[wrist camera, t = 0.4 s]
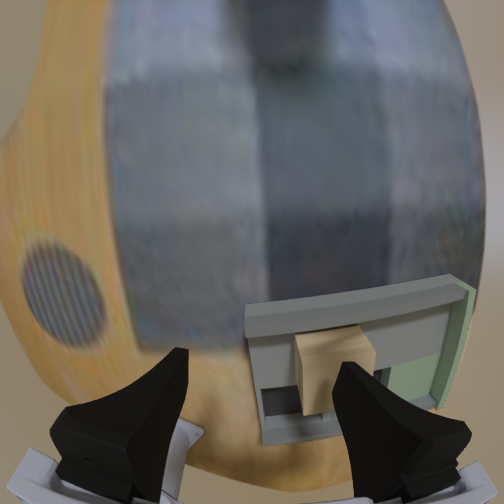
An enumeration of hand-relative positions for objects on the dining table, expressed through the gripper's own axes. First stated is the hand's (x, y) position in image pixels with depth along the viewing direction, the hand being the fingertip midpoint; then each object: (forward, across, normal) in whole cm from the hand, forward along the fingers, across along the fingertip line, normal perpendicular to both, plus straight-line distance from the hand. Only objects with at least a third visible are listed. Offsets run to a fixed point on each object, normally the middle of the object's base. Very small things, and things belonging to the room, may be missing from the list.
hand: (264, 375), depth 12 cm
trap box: (+9, -9, +5) cm, 14 cm away
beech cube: (+7, -5, +3) cm, 9 cm away
